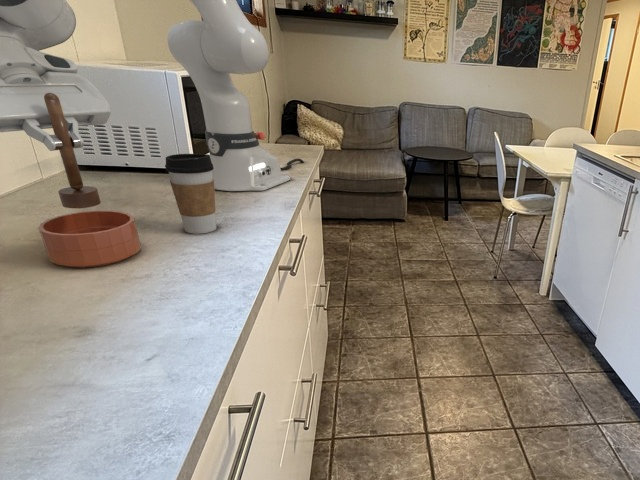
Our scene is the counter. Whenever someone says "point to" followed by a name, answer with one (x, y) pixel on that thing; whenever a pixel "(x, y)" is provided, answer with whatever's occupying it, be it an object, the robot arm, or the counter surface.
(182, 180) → the coffee cup
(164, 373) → the counter surface
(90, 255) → the bowl
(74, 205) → the brown pestle
